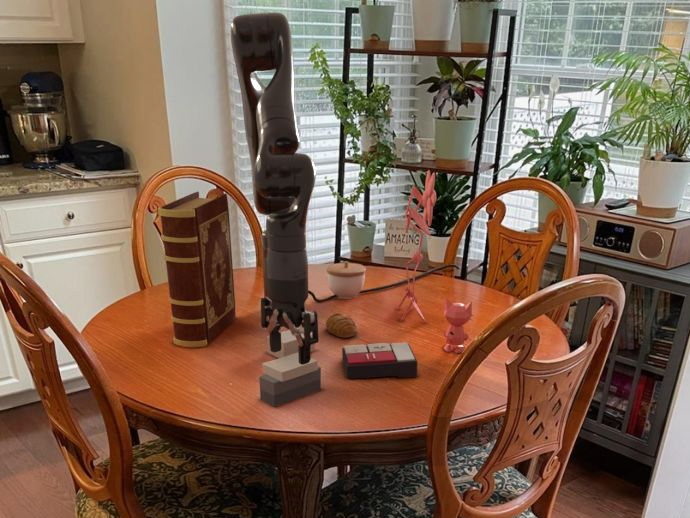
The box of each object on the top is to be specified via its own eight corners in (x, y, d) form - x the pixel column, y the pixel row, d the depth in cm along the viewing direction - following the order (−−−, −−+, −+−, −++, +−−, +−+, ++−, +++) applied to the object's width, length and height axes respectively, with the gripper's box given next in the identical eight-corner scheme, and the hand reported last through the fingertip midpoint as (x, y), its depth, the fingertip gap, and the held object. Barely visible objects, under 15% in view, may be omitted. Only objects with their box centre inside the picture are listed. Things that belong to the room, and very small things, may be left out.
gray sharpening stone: (306, 383, 147) (306, 360, 145) (321, 390, 145) (320, 367, 142) (260, 399, 140) (259, 376, 137) (274, 407, 137) (273, 383, 135)
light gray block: (297, 343, 167) (297, 327, 165) (314, 350, 163) (314, 334, 161) (267, 353, 161) (266, 336, 159) (284, 360, 158) (283, 343, 156)
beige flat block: (298, 361, 144) (297, 352, 143) (317, 370, 141) (317, 360, 140) (262, 373, 139) (262, 363, 138) (282, 382, 135) (282, 372, 134)
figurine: (400, 332, 175) (408, 179, 157) (391, 300, 197) (398, 163, 179) (462, 332, 176) (477, 180, 158) (446, 300, 198) (458, 164, 180)
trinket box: (320, 298, 197) (320, 264, 192) (336, 288, 206) (336, 255, 201) (355, 303, 194) (356, 269, 189) (370, 293, 202) (371, 259, 197)
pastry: (363, 337, 171) (364, 322, 169) (338, 341, 169) (338, 325, 167) (347, 325, 179) (347, 310, 177) (322, 328, 176) (322, 313, 174)
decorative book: (203, 349, 162) (189, 211, 147) (170, 346, 164) (153, 208, 148) (237, 318, 181) (228, 193, 165) (207, 315, 182) (196, 190, 167)
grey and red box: (341, 344, 157) (408, 339, 158) (342, 362, 159) (408, 357, 160) (346, 362, 148) (417, 357, 149) (347, 382, 150) (417, 376, 151)
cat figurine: (471, 347, 167) (477, 297, 161) (465, 357, 162) (470, 305, 155) (442, 343, 169) (446, 293, 163) (435, 353, 164) (439, 301, 157)
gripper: (328, 277, 128) (328, 362, 136) (278, 262, 136) (281, 343, 145) (296, 285, 123) (298, 372, 131) (247, 268, 132) (251, 351, 140)
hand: (289, 357), depth 138 cm, fingers open, 8 cm apart
